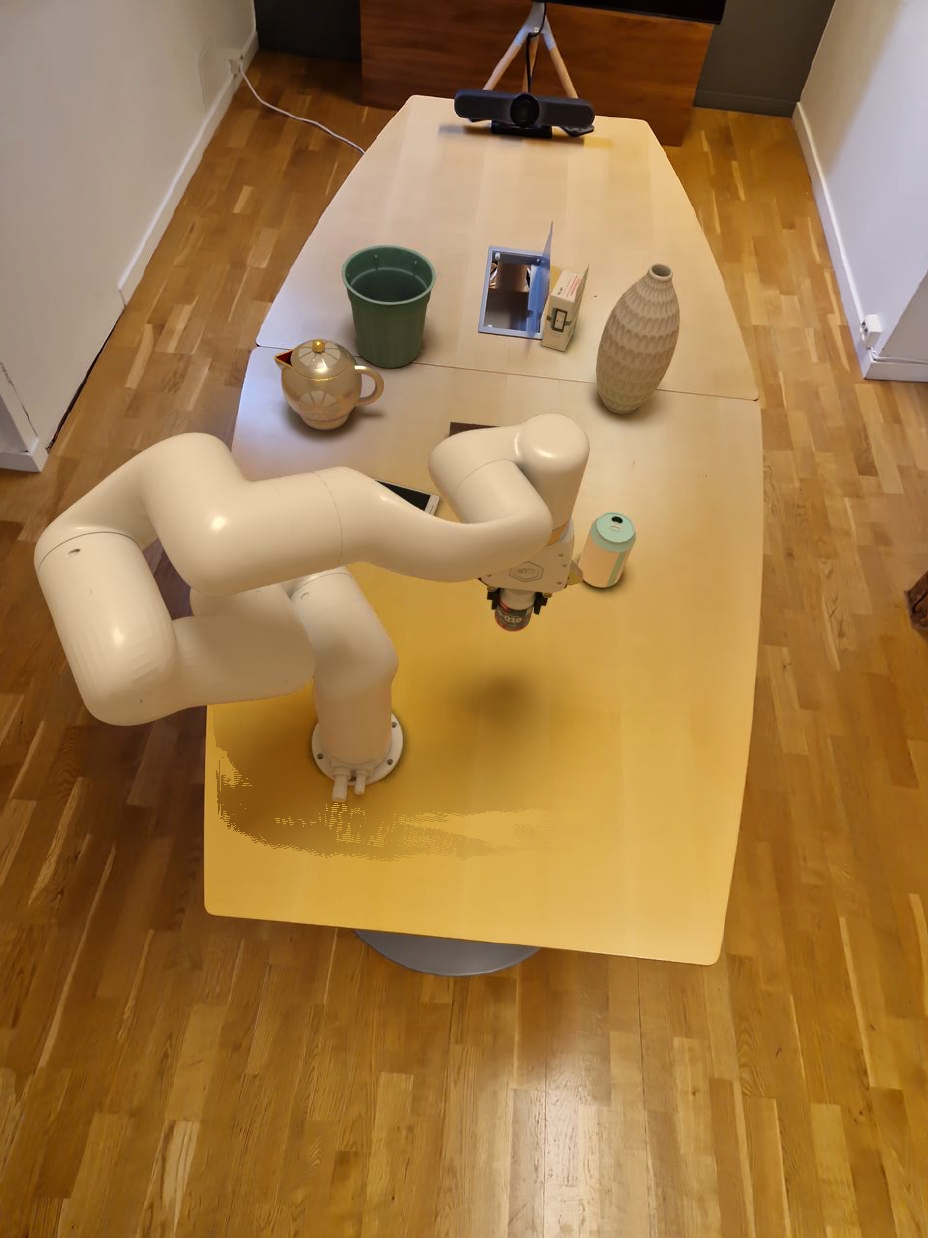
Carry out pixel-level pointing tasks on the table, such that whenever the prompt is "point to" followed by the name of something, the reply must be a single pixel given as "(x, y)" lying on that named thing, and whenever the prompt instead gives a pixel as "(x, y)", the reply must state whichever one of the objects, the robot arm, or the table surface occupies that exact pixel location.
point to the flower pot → (388, 302)
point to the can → (607, 549)
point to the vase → (638, 341)
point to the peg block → (465, 427)
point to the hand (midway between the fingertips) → (515, 601)
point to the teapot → (324, 382)
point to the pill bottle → (514, 609)
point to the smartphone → (414, 497)
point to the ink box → (564, 309)
